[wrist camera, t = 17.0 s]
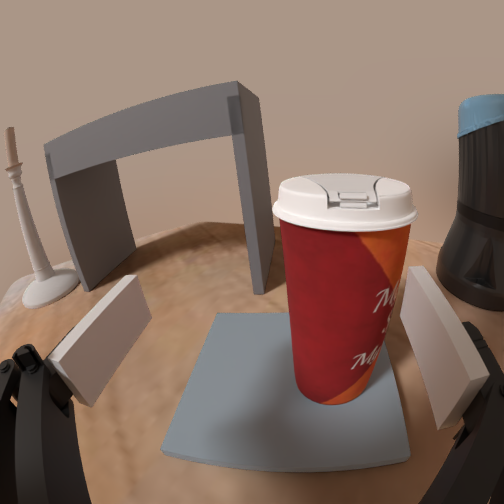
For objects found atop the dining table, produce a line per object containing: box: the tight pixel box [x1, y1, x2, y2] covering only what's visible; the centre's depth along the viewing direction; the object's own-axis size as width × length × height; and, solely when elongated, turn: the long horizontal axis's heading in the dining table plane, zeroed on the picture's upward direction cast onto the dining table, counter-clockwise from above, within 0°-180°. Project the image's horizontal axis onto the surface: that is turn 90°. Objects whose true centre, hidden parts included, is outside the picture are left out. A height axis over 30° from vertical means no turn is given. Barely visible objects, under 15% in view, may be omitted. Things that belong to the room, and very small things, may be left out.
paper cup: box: [272, 174, 418, 405], centre depth 16 cm, size 8×8×14 cm
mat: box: [160, 313, 411, 472], centre depth 20 cm, size 16×16×1 cm
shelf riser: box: [44, 81, 275, 294], centre depth 38 cm, size 28×16×24 cm, turn 81°
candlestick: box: [4, 127, 80, 309], centre depth 34 cm, size 13×13×30 cm
